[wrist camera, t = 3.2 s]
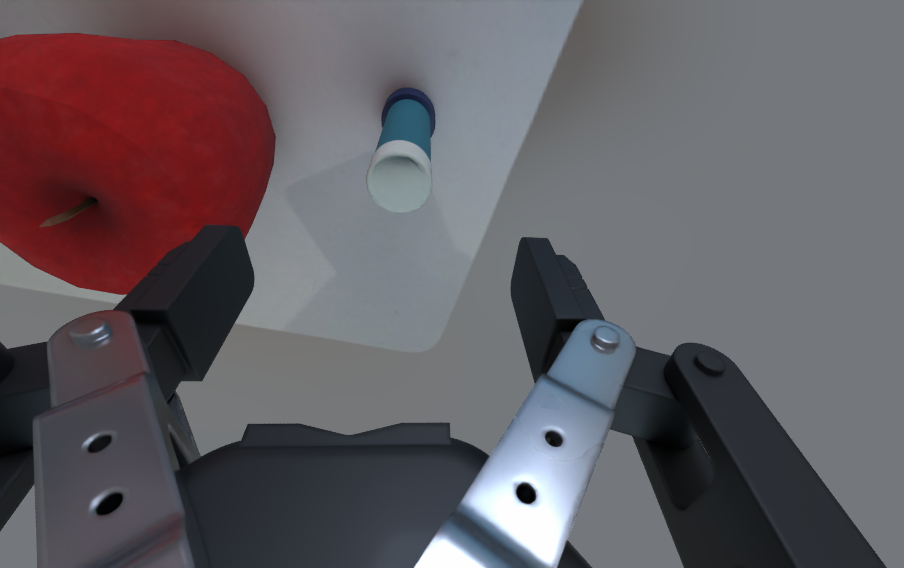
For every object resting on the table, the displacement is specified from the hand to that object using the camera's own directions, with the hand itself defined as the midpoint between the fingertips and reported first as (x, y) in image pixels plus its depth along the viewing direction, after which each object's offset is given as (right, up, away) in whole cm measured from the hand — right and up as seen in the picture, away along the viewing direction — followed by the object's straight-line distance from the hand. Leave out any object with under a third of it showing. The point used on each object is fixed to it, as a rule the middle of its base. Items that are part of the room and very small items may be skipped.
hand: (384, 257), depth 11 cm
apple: (-13, +9, +13) cm, 20 cm away
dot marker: (-1, +10, +13) cm, 16 cm away
